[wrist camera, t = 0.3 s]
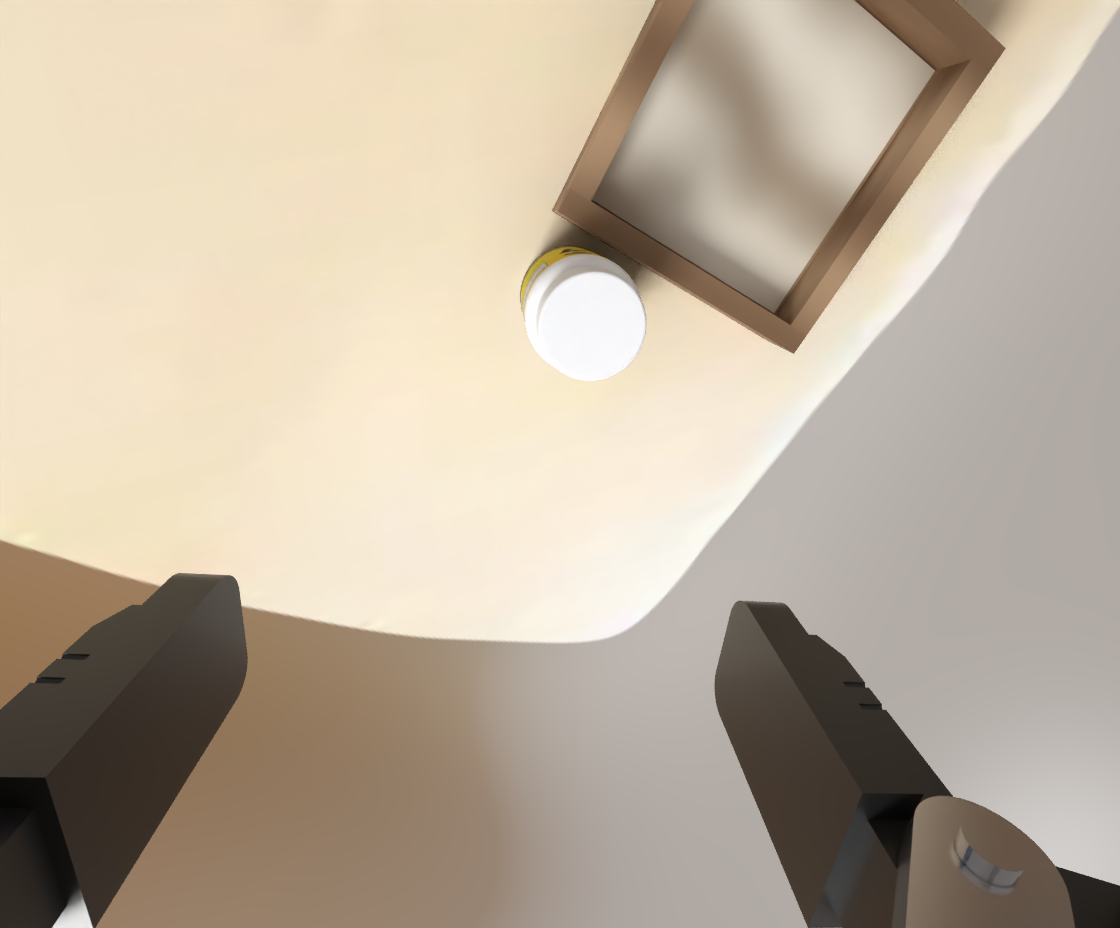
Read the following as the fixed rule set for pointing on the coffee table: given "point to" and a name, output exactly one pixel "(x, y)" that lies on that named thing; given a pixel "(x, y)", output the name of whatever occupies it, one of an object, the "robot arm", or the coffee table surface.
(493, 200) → the coffee table surface
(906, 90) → the walnut tray
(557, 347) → the supplement bottle
